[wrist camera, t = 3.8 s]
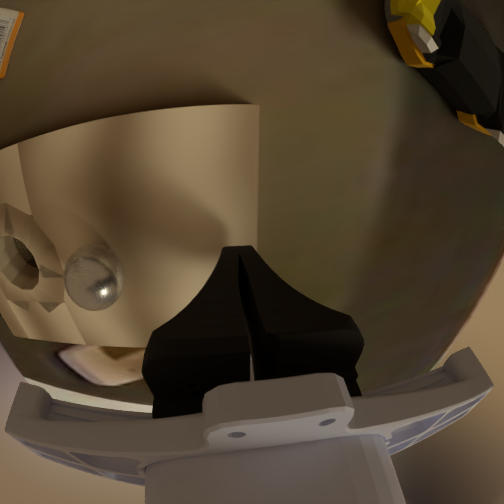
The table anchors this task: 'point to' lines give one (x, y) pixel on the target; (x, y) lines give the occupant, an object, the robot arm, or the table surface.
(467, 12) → the gaming controller
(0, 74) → the supplement box
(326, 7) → the table surface
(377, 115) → the table surface
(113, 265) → the ball
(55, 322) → the beige flat block
